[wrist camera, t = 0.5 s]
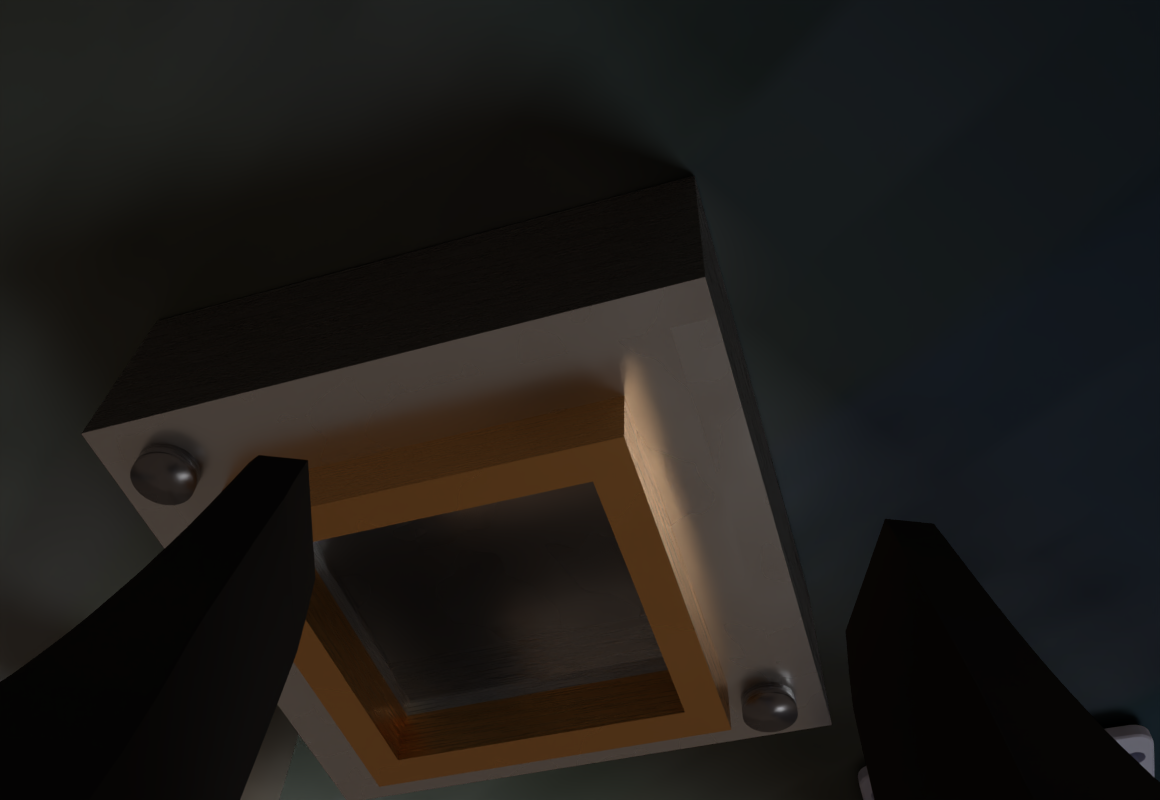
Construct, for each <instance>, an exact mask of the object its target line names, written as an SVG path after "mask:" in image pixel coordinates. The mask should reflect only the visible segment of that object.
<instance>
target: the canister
mask: <svg viewBox="0 0 1160 800" xmlns="http://www.w3.org/2000/svg"><path fill="white" fill-rule="evenodd" d="M297 738H298V732H297V731H296V729H295V728H294V727H293V725H292V724H291V722H290V721H289V720H288V718H287V717H286V716H285V714H284V713H283V711H282V710H281V709H280V707H279V706H278V705H277V706H276V709H275V712H274V714H273V717H272V719H271V722H270V724H269V727H268V730H267V732H266V735H265V737H264V740H263V742H262V745H261V748H260V750H259V753H258V755H257V758H256V760H255V763H254V766H253V768H252V771H251V773H250V776H249V778H248V781H247V784H246V786H245V789H244V791H243V794H242V796H241V799H240V800H279V799H280V795H281V792H282V789H283V785H284V782H285V779H286V775H287V772H288V768H289V765H290V762H291V758H292V755H293V752H294V748H295V745H296V742H297Z"/></svg>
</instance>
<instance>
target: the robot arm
mask: <svg viewBox="0 0 1160 800" xmlns="http://www.w3.org/2000/svg"><path fill="white" fill-rule="evenodd" d="M314 583H315V563H314V548H313V532H312V516H311V500H310V484H309V468H308V460H303V459H293V458H283V457H273V456H264V455H258V456H257V457H255V458H254V459H253V460H251V461H250V462H249V463H248V464H247V465H246V466H245V467H244V469H243V470H242V471H241V472H240V473H239V474H238V475H237V476H236V477H235V478H234V479H233V480H232V481H231V482H230V483H229V484H228V486H227V487H226V488H225V489H224V490H223V491H222V492H221V493H220V494H219V495H218V496H217V497H216V498H215V499H214V500H213V501H212V502H211V503H210V504H209V505H208V506H207V507H206V508H205V509H204V510H203V511H202V512H201V513H200V515H199V516H198V517H197V518H196V519H195V520H194V521H193V522H192V523H191V524H190V525H189V526H188V527H187V528H186V529H185V530H184V531H182V532H181V533H180V534H179V535H178V536H177V537H176V538H175V539H174V540H173V541H172V542H171V543H170V544H169V545H168V546H167V547H166V548H165V549H164V550H163V551H162V552H161V553H159V554H158V555H157V556H156V557H155V558H154V559H153V560H152V561H151V562H150V563H149V564H148V565H147V566H146V567H145V568H144V569H143V570H141V571H140V572H139V573H138V574H137V575H136V576H135V577H134V578H132V579H131V580H130V581H129V582H128V583H127V584H125V585H124V586H123V587H122V588H121V589H120V590H119V591H117V592H116V593H115V594H114V595H113V596H112V597H110V598H109V599H108V600H107V601H106V602H105V603H103V604H102V605H101V606H100V607H99V608H98V609H96V610H95V611H94V612H93V613H92V614H91V615H89V616H88V617H87V618H86V619H85V620H83V621H82V622H81V623H80V624H78V625H77V626H76V627H75V628H73V629H72V630H71V631H70V632H68V633H67V634H66V635H64V636H63V637H62V638H61V639H59V640H58V641H57V642H55V643H54V644H53V645H51V646H50V647H49V648H47V649H46V650H45V651H43V652H42V653H41V654H39V655H38V656H37V657H35V658H34V659H32V660H31V661H30V662H28V663H27V664H26V665H24V666H23V667H21V668H20V669H19V670H17V671H16V672H14V673H13V674H12V675H10V676H9V677H7V678H6V679H4V680H3V681H1V682H0V800H240V799H241V796H242V794H243V791H244V789H245V786H246V784H247V781H248V778H249V776H250V773H251V771H252V768H253V766H254V763H255V760H256V758H257V755H258V753H259V750H260V748H261V745H262V742H263V740H264V737H265V735H266V732H267V730H268V727H269V724H270V722H271V719H272V717H273V714H274V712H275V709H276V706H277V704H278V701H279V698H280V696H281V693H282V691H283V688H284V685H285V683H286V680H287V678H288V675H289V672H290V670H291V667H292V664H293V662H294V659H295V656H296V654H297V651H298V647H299V643H300V639H301V635H302V631H303V627H304V624H305V620H306V616H307V612H308V607H309V603H310V599H311V595H312V591H313V587H314ZM846 640H847V652H848V663H849V675H850V684H851V693H852V702H853V708H854V713H855V718H856V722H857V727H858V731H859V736H860V740H861V745H862V749H863V753H864V758H865V762H866V766H865V767H863V768H862V769H861V770H860V771H859V773H858V780H859V785H860V789H861V793H862V796H863V800H1160V782H1159V781H1158V780H1156V779H1155V776H1154V742H1153V739H1152V737H1151V735H1150V733H1149V730H1148V729H1147V728H1145V727H1144V726H1140V725H1126V726H1119V727H1112V728H1106V729H1104V728H1103V727H1102V726H1101V725H1100V724H1099V723H1098V722H1097V721H1096V720H1095V719H1094V718H1093V717H1092V716H1091V714H1090V713H1089V712H1088V711H1087V710H1086V709H1085V708H1084V707H1083V706H1082V705H1081V704H1080V702H1079V701H1078V700H1077V699H1076V698H1075V697H1074V696H1073V695H1072V694H1071V693H1070V692H1069V691H1068V689H1067V688H1066V687H1065V686H1064V685H1063V684H1062V683H1061V682H1060V681H1059V680H1058V678H1057V677H1056V676H1055V675H1054V674H1053V673H1052V672H1051V670H1050V669H1049V668H1048V667H1047V666H1046V665H1045V663H1044V662H1043V661H1042V660H1041V659H1040V658H1039V656H1038V655H1037V654H1036V653H1035V652H1034V651H1033V649H1032V648H1031V647H1030V646H1029V645H1028V643H1027V642H1026V641H1025V640H1024V638H1023V637H1022V636H1021V635H1020V634H1019V632H1018V631H1017V630H1016V629H1015V628H1014V626H1013V625H1012V624H1011V623H1010V621H1009V620H1008V619H1007V618H1006V616H1005V615H1004V614H1003V613H1002V611H1001V610H1000V609H999V608H998V606H997V605H996V604H995V603H994V601H993V600H992V599H991V597H990V596H989V595H988V594H987V592H986V591H985V590H984V588H983V587H982V586H981V585H980V583H979V582H978V581H977V579H976V578H975V577H974V575H973V574H972V573H971V572H970V570H969V569H968V568H967V566H966V565H965V564H964V562H963V561H962V560H961V558H960V557H959V556H958V555H957V553H956V552H955V551H954V549H953V548H952V547H951V545H950V544H949V543H948V542H947V540H946V539H945V538H944V536H943V535H942V534H941V533H940V531H939V530H938V529H937V527H936V526H935V525H934V524H931V523H921V522H911V521H901V520H891V519H885V521H884V524H883V527H882V529H881V532H880V535H879V538H878V541H877V544H876V547H875V549H874V552H873V555H872V558H871V561H870V564H869V567H868V569H867V572H866V575H865V578H864V581H863V584H862V586H861V589H860V592H859V595H858V598H857V601H856V604H855V606H854V609H853V612H852V615H851V618H850V621H849V624H848V626H847V629H846Z"/></svg>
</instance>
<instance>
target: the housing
mask: <svg viewBox="0 0 1160 800" xmlns="http://www.w3.org/2000/svg"><path fill="white" fill-rule="evenodd" d="M81 434H82V435H83V437H84V438H85V439H86V441H87V442H88V444H89V445H90V446H91V448H92V449H93V450H94V452H95V453H96V455H97V456H98V457H99V459H100V460H101V462H102V463H103V464H104V466H105V467H106V468H107V470H108V471H109V473H110V474H111V475H112V477H113V478H114V479H115V481H116V482H117V484H118V485H119V486H120V488H121V489H122V490H123V492H124V493H125V495H126V496H127V497H128V499H129V500H130V502H131V503H132V504H133V506H134V507H135V508H136V510H137V511H138V513H139V514H140V515H141V517H142V518H143V519H144V521H145V522H146V524H147V525H148V526H149V528H150V529H151V531H152V532H153V533H154V535H155V536H156V537H157V539H158V540H159V542H160V543H161V544H162V546H163V547H164V548H166V547H167V546H168V545H169V544H170V543H171V542H172V541H173V540H174V539H175V538H176V537H177V536H178V535H179V534H180V533H181V532H182V531H184V530H185V529H186V528H187V527H188V526H189V525H190V524H191V523H192V522H193V521H194V520H195V519H196V518H197V517H198V516H199V515H200V513H201V512H202V511H203V510H204V509H205V508H206V507H207V506H208V505H209V504H210V503H211V502H212V501H213V500H214V499H215V498H216V497H217V496H218V495H219V494H220V493H221V492H222V491H223V490H224V489H225V488H226V487H227V486H228V484H229V483H230V482H231V481H232V480H233V479H234V478H235V477H236V476H237V475H238V474H239V473H240V472H241V471H242V470H243V469H244V467H245V466H246V465H247V464H248V463H249V462H250V461H251V460H253V459H254V458H255V457H257V456H258V455H264V456H273V457H283V458H293V459H303V460H308V468H309V484H310V500H311V516H312V532H313V548H314V563H315V583H314V587H313V591H312V595H311V599H310V603H309V607H308V612H307V616H306V620H305V624H304V627H303V631H302V635H301V639H300V643H299V647H298V651H297V654H296V656H295V659H294V662H293V664H292V667H291V670H290V672H289V675H288V678H287V680H286V683H285V685H284V688H283V691H282V693H281V696H280V698H279V701H278V704H277V705H278V706H279V707H280V709H281V710H282V711H283V713H284V714H285V716H286V717H287V718H288V720H289V721H290V722H291V724H292V725H293V727H294V728H295V729H296V731H297V732H298V734H299V735H300V736H301V738H302V739H303V740H304V742H305V743H306V745H307V746H308V747H309V749H310V750H311V751H312V753H313V754H314V756H315V757H316V758H317V760H318V761H319V763H320V764H321V765H322V767H323V768H324V769H325V771H326V772H327V774H328V775H329V776H330V778H331V779H332V780H333V782H334V783H335V785H336V786H337V787H338V789H339V790H340V792H341V793H342V794H343V796H344V797H345V798H346V800H365V799H372V798H378V797H384V796H390V795H397V794H403V793H409V792H415V791H422V790H428V789H434V788H440V787H447V786H453V785H459V784H465V783H472V782H478V781H484V780H490V779H497V778H503V777H509V776H516V775H522V774H528V773H534V772H541V771H547V770H553V769H559V768H566V767H572V766H578V765H584V764H591V763H597V762H603V761H609V760H616V759H622V758H628V757H634V756H641V755H647V754H653V753H659V752H666V751H672V750H678V749H684V748H691V747H697V746H703V745H710V744H716V743H722V742H728V741H735V740H741V739H747V738H753V737H760V736H766V735H772V734H778V733H785V732H791V731H797V730H803V729H810V728H816V727H822V726H828V725H832V722H831V717H830V711H829V705H828V700H827V694H826V689H825V683H824V677H823V672H822V666H821V660H820V655H819V649H818V644H817V638H816V632H815V627H814V621H813V615H812V610H811V604H810V598H809V594H808V590H807V586H806V583H805V579H804V575H803V572H802V568H801V564H800V561H799V557H798V553H797V550H796V546H795V542H794V539H793V535H792V531H791V528H790V524H789V520H788V517H787V513H786V509H785V506H784V502H783V498H782V495H781V491H780V487H779V484H778V480H777V476H776V473H775V469H774V465H773V462H772V458H771V454H770V451H769V447H768V443H767V440H766V436H765V432H764V429H763V425H762V421H761V418H760V414H759V410H758V407H757V403H756V399H755V396H754V392H753V388H752V385H751V381H750V377H749V374H748V370H747V366H746V363H745V359H744V355H743V352H742V348H741V344H740V341H739V337H738V333H737V330H736V326H735V322H734V319H733V315H732V311H731V308H730V304H729V300H728V297H727V293H726V289H725V286H724V282H723V278H722V275H721V271H720V267H719V264H718V260H717V256H716V253H715V249H714V245H713V242H712V238H711V234H710V231H709V227H708V223H707V220H706V216H705V212H704V209H703V205H702V201H701V198H700V194H699V190H698V187H697V183H696V179H695V176H690V177H687V178H683V179H679V180H675V181H672V182H668V183H664V184H661V185H657V186H653V187H650V188H646V189H642V190H639V191H635V192H631V193H628V194H624V195H620V196H617V197H613V198H609V199H605V200H602V201H598V202H594V203H591V204H587V205H583V206H580V207H576V208H572V209H569V210H565V211H561V212H558V213H554V214H550V215H547V216H543V217H539V218H535V219H532V220H528V221H524V222H521V223H517V224H513V225H510V226H506V227H502V228H499V229H495V230H491V231H488V232H484V233H480V234H477V235H473V236H469V237H465V238H462V239H458V240H454V241H451V242H447V243H443V244H440V245H436V246H432V247H429V248H425V249H421V250H418V251H414V252H410V253H407V254H403V255H399V256H395V257H392V258H388V259H384V260H381V261H377V262H373V263H370V264H366V265H362V266H359V267H355V268H351V269H348V270H344V271H340V272H337V273H333V274H329V275H325V276H322V277H318V278H314V279H311V280H307V281H303V282H300V283H296V284H292V285H289V286H285V287H281V288H278V289H274V290H270V291H267V292H263V293H259V294H255V295H252V296H248V297H244V298H241V299H237V300H233V301H230V302H226V303H222V304H219V305H215V306H211V307H208V308H204V309H200V310H197V311H193V312H189V313H185V314H182V315H178V316H174V317H171V318H167V319H163V320H160V321H157V322H156V323H155V325H154V326H153V328H152V329H151V331H150V332H149V334H148V335H147V337H146V338H145V340H144V341H143V342H142V344H141V345H140V347H139V348H138V350H137V351H136V353H135V354H134V356H133V357H132V359H131V360H130V362H129V363H128V365H127V366H126V368H125V369H124V371H123V372H122V374H121V375H120V377H119V378H118V380H117V381H116V383H115V384H114V386H113V387H112V389H111V390H110V392H109V393H108V395H107V396H106V398H105V399H104V401H103V402H102V404H101V405H100V407H99V408H98V410H97V411H96V413H95V414H94V415H93V417H92V418H91V420H90V421H89V423H88V424H87V426H86V427H85V429H84V430H83V432H82V433H81Z"/></svg>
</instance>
